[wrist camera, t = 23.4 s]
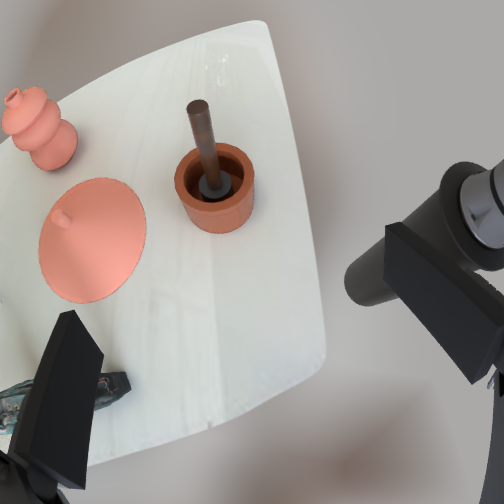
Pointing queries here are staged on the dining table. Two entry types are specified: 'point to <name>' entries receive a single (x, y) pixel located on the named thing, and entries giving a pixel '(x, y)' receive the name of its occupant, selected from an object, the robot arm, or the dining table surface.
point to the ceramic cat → (8, 401)
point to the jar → (225, 212)
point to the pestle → (208, 155)
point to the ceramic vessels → (76, 207)
